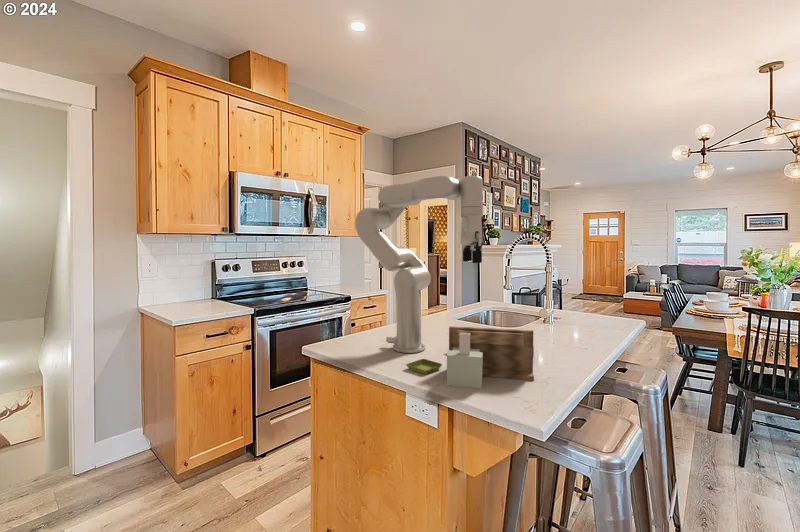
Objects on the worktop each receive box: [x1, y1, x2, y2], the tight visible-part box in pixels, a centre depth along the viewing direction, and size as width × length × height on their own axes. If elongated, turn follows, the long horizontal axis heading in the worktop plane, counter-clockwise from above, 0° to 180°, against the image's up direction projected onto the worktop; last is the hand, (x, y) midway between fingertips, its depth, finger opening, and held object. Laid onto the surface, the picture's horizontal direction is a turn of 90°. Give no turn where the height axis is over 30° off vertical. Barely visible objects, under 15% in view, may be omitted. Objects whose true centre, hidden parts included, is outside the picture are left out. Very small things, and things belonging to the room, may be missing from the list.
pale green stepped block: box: [446, 332, 483, 389], centre depth 119 cm, size 10×9×15 cm
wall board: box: [448, 325, 535, 381], centre depth 125 cm, size 26×6×14 cm, turn 76°
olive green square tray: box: [405, 358, 443, 375], centre depth 130 cm, size 9×9×2 cm
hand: (472, 261), depth 139 cm, fingers open, 9 cm apart
